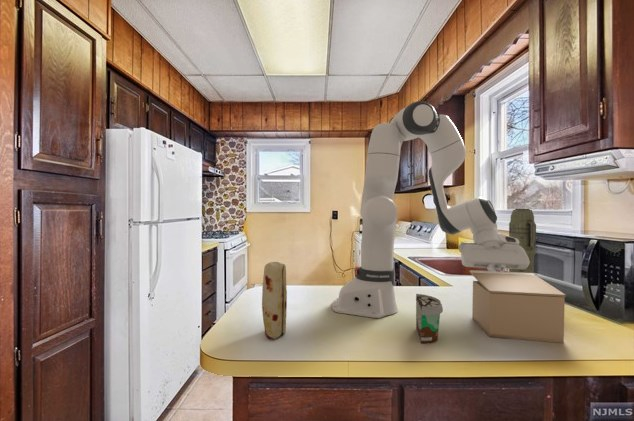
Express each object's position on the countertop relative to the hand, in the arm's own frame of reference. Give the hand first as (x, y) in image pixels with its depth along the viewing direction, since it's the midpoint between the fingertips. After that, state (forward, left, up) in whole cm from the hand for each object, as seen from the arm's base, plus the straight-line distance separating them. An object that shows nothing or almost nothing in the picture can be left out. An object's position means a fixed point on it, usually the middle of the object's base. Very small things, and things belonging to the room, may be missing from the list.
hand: (499, 277), depth 96 cm
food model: (-67, -27, -13) cm, 73 cm away
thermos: (+17, +24, -13) cm, 33 cm away
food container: (-25, -20, -13) cm, 34 cm away
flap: (0, -8, 0) cm, 8 cm away
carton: (0, -10, -13) cm, 16 cm away
